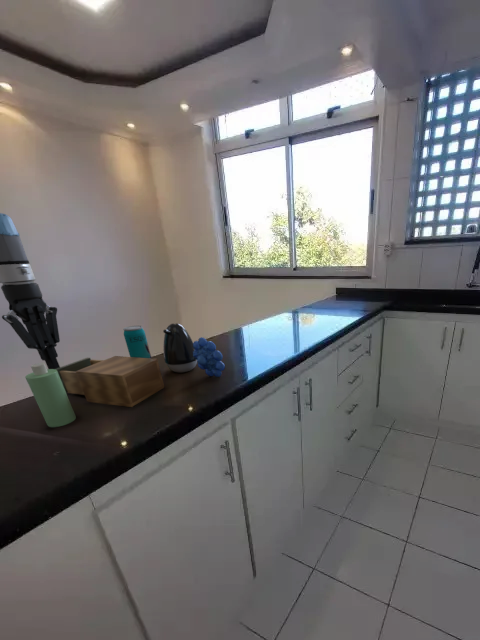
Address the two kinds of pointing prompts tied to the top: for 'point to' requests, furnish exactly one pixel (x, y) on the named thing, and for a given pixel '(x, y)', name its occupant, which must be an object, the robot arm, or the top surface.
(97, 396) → the cabinet
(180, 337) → the pump dispenser
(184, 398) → the top surface
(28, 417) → the top surface
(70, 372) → the drawer
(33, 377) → the soap bottle
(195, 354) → the grapes
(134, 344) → the beverage can
